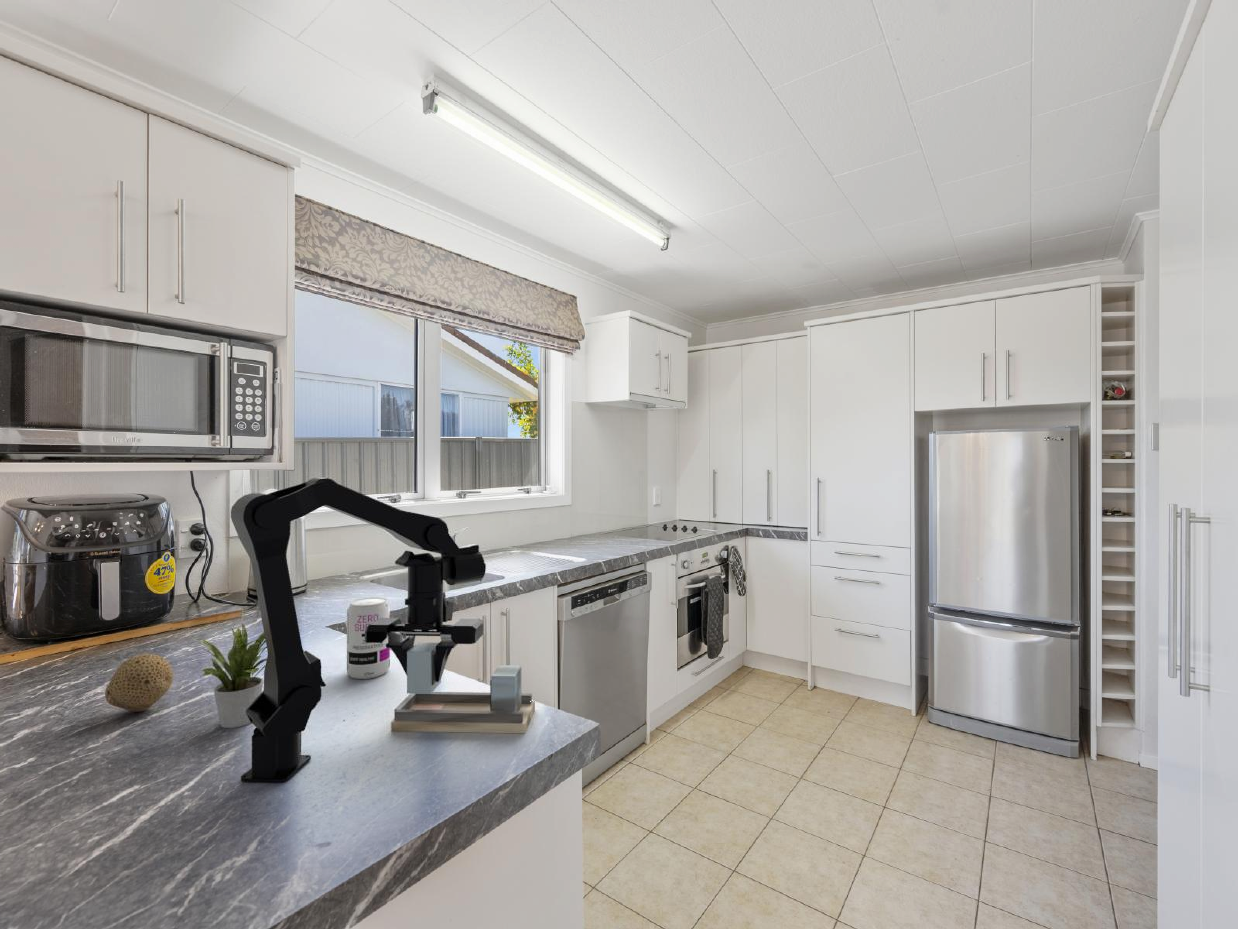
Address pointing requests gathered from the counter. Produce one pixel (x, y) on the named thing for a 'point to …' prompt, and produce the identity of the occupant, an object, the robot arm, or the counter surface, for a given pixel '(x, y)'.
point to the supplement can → (362, 655)
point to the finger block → (421, 668)
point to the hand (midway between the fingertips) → (425, 680)
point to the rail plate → (470, 708)
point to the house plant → (236, 678)
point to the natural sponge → (139, 682)
